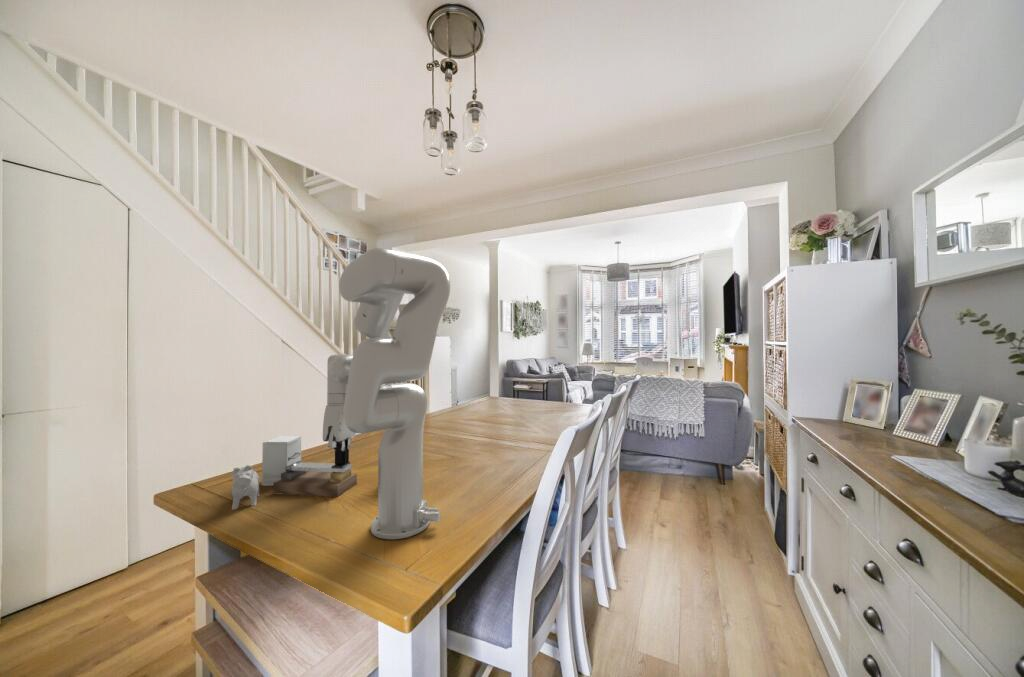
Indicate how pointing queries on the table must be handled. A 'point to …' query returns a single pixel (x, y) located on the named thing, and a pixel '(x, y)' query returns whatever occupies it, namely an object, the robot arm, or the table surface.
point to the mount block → (315, 483)
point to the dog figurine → (244, 485)
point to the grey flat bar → (318, 467)
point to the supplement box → (279, 457)
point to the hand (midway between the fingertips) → (341, 463)
